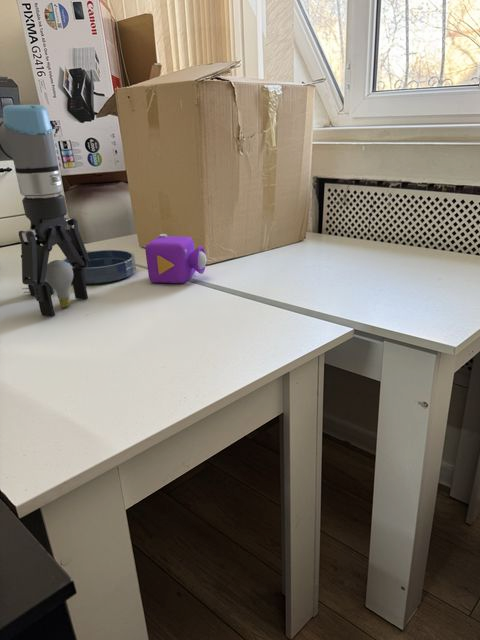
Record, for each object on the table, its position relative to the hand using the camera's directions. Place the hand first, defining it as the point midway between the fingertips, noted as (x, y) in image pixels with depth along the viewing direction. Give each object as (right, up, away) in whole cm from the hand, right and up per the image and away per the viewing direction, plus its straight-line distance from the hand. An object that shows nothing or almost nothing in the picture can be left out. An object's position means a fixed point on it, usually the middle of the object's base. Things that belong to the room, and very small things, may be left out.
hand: (65, 306), depth 105 cm
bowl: (+1, +10, +21) cm, 23 cm away
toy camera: (+21, +8, +16) cm, 28 cm away
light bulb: (0, 0, 0) cm, 0 cm away
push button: (-9, +3, +9) cm, 13 cm away
